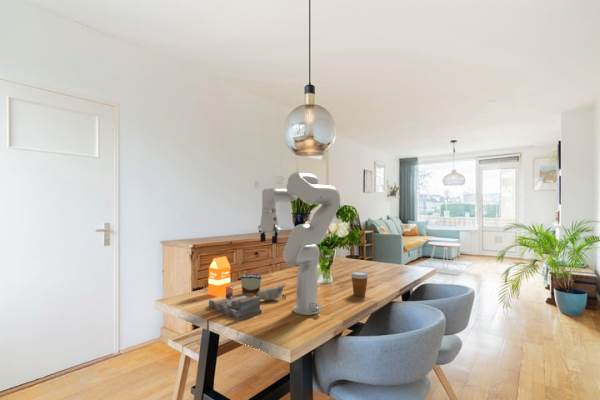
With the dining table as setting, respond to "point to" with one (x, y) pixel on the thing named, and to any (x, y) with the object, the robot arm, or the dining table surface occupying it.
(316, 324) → the dining table surface
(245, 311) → the nut press
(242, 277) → the food container
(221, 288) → the orange juice
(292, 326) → the dining table surface
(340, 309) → the dining table surface
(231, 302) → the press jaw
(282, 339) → the dining table surface
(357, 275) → the disposable coffee cup
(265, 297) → the decorative bird
